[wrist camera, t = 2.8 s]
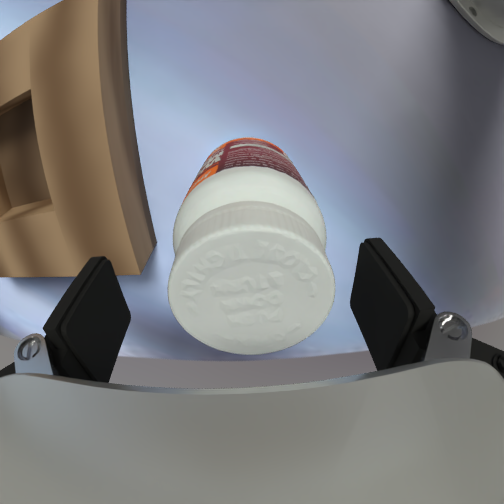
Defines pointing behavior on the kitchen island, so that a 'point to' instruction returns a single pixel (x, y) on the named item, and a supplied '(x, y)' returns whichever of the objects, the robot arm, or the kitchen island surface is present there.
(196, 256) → the pill bottle
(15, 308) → the kitchen island surface
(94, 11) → the socket block
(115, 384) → the robot arm
